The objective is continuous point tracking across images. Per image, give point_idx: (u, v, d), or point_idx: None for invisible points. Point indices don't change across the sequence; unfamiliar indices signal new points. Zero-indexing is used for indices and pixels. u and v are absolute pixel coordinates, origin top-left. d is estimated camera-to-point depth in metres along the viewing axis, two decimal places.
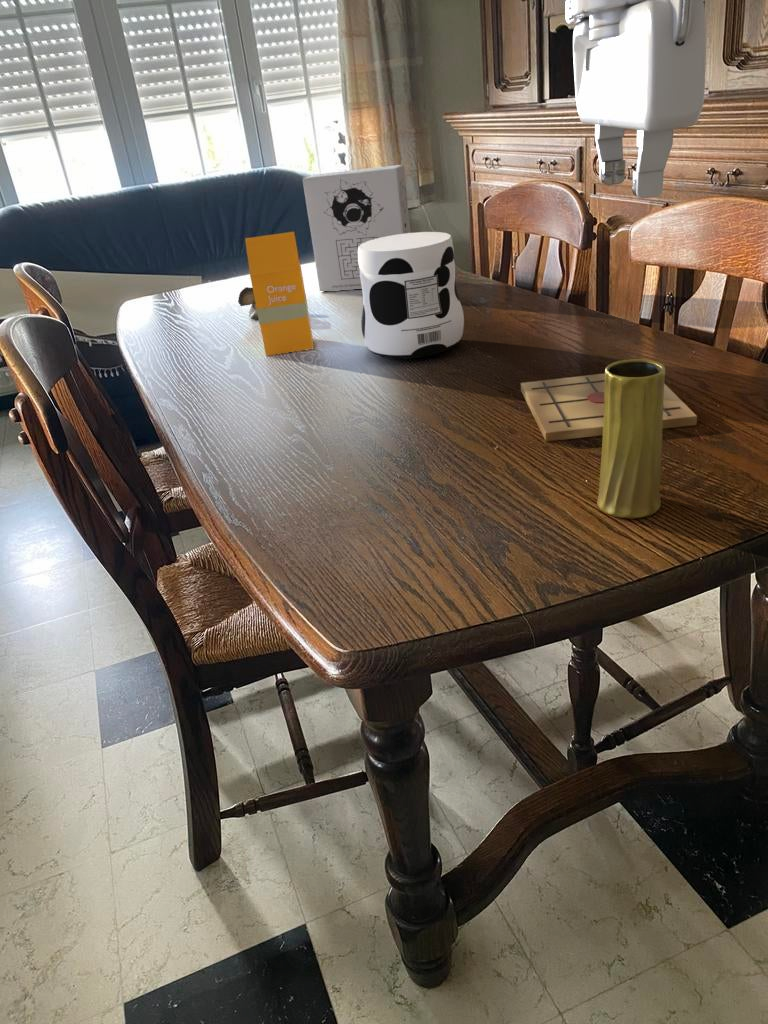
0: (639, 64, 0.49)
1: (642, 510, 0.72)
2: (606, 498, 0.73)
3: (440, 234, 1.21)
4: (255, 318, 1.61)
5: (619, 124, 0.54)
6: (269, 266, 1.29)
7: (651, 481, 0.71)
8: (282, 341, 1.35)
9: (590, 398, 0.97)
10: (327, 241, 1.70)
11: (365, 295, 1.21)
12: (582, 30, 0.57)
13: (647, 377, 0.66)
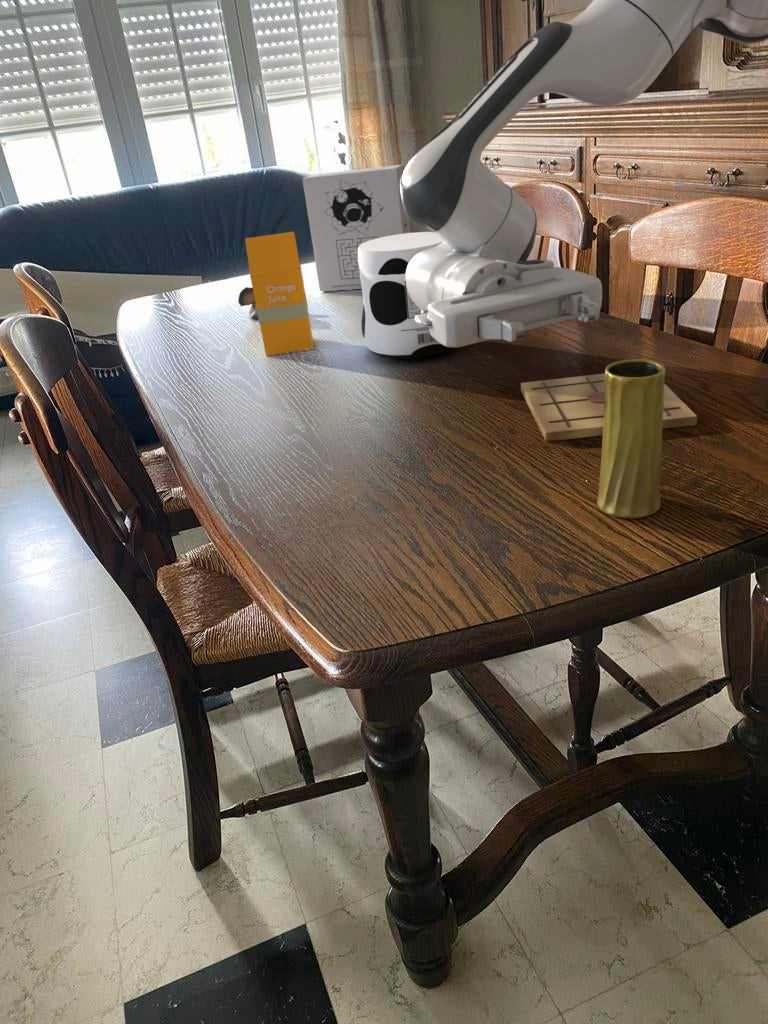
0: None
1: (642, 510, 0.72)
2: (606, 498, 0.73)
3: None
4: (255, 318, 1.61)
5: None
6: (269, 266, 1.29)
7: (651, 481, 0.71)
8: (282, 341, 1.35)
9: (590, 398, 0.97)
10: (327, 241, 1.70)
11: (365, 295, 1.21)
12: None
13: (647, 377, 0.66)
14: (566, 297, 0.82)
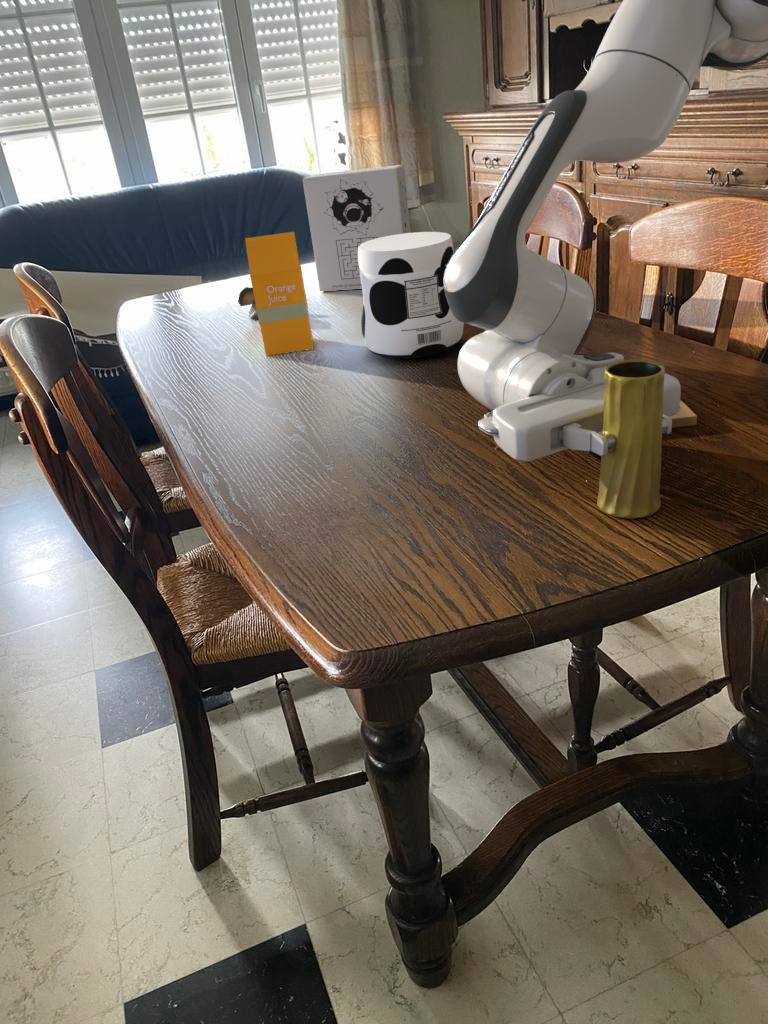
0: None
1: (642, 510, 0.72)
2: (606, 498, 0.73)
3: (440, 234, 1.21)
4: (255, 318, 1.61)
5: None
6: (269, 266, 1.29)
7: (651, 481, 0.71)
8: (282, 341, 1.35)
9: None
10: (327, 241, 1.70)
11: (365, 295, 1.21)
12: None
13: (647, 377, 0.66)
14: None
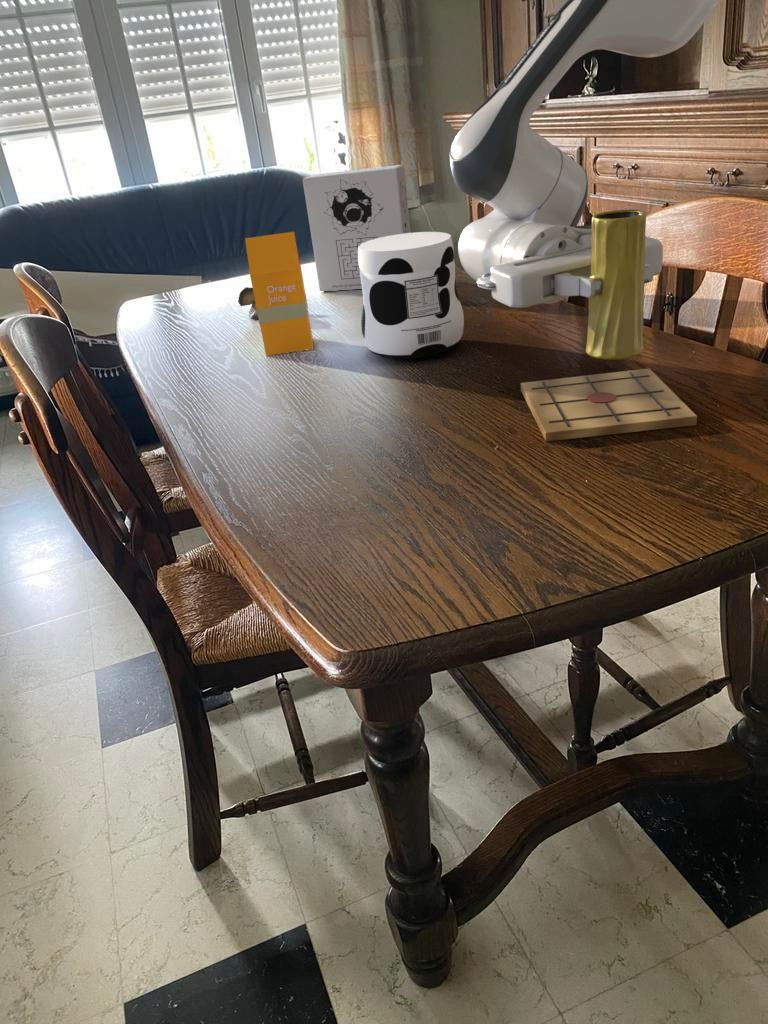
0: None
1: (626, 351, 0.79)
2: (594, 342, 0.80)
3: (440, 234, 1.21)
4: (255, 318, 1.61)
5: None
6: (269, 266, 1.29)
7: (634, 322, 0.78)
8: (282, 341, 1.35)
9: (590, 398, 0.97)
10: (327, 241, 1.70)
11: (365, 295, 1.21)
12: None
13: (629, 218, 0.73)
14: None
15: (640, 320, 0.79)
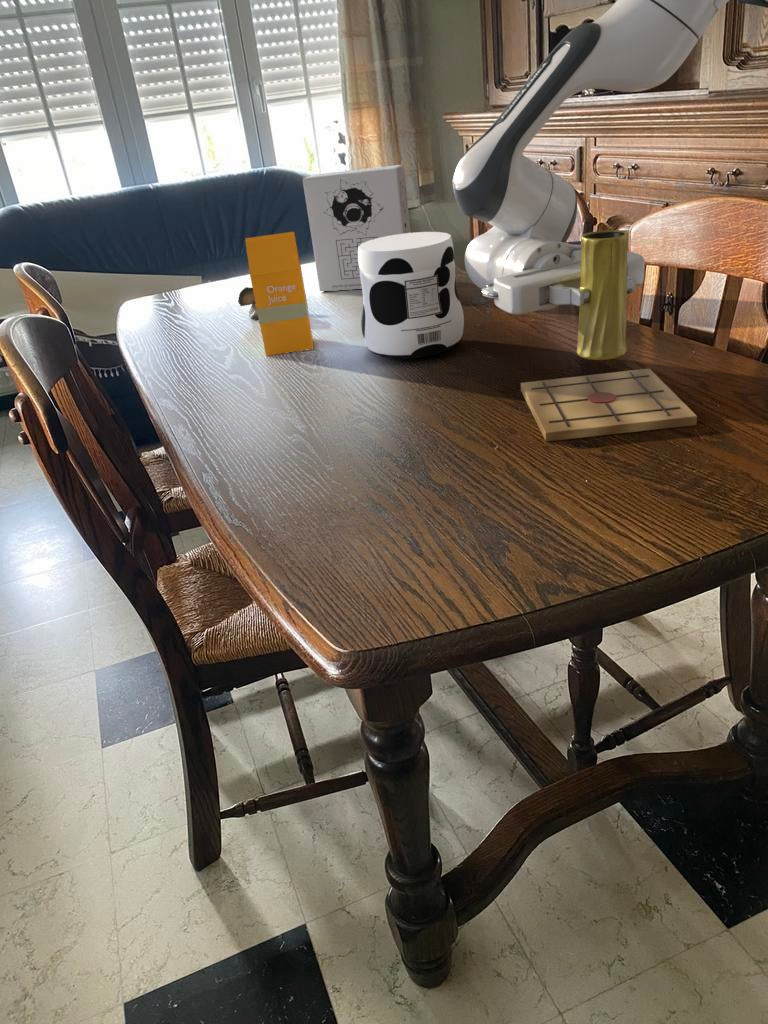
0: None
1: (611, 352, 0.91)
2: (583, 344, 0.92)
3: (440, 234, 1.21)
4: (255, 318, 1.61)
5: (562, 304, 0.94)
6: (269, 266, 1.29)
7: (618, 327, 0.90)
8: (282, 341, 1.35)
9: (590, 398, 0.97)
10: (327, 241, 1.70)
11: (365, 295, 1.21)
12: None
13: (613, 238, 0.85)
14: None
15: (623, 325, 0.91)
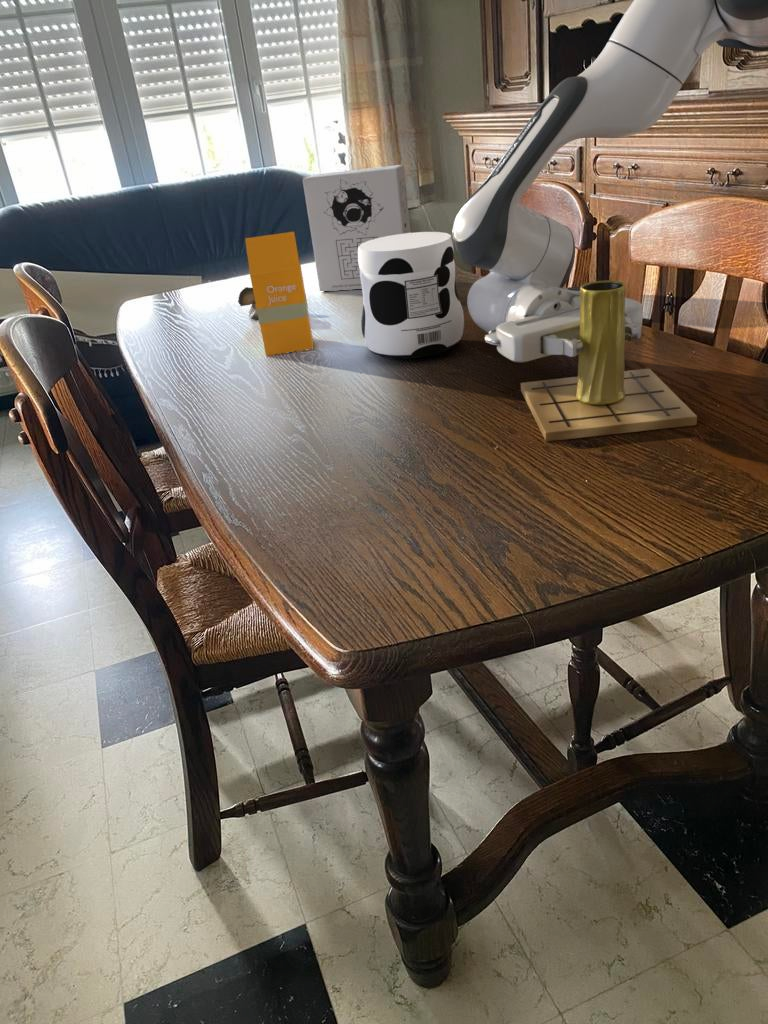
0: None
1: (610, 398, 0.94)
2: (582, 390, 0.95)
3: (440, 234, 1.21)
4: (255, 318, 1.61)
5: None
6: (269, 266, 1.29)
7: (616, 374, 0.93)
8: (282, 341, 1.35)
9: None
10: (327, 241, 1.70)
11: (365, 295, 1.21)
12: None
13: (611, 290, 0.88)
14: None
15: (621, 372, 0.94)
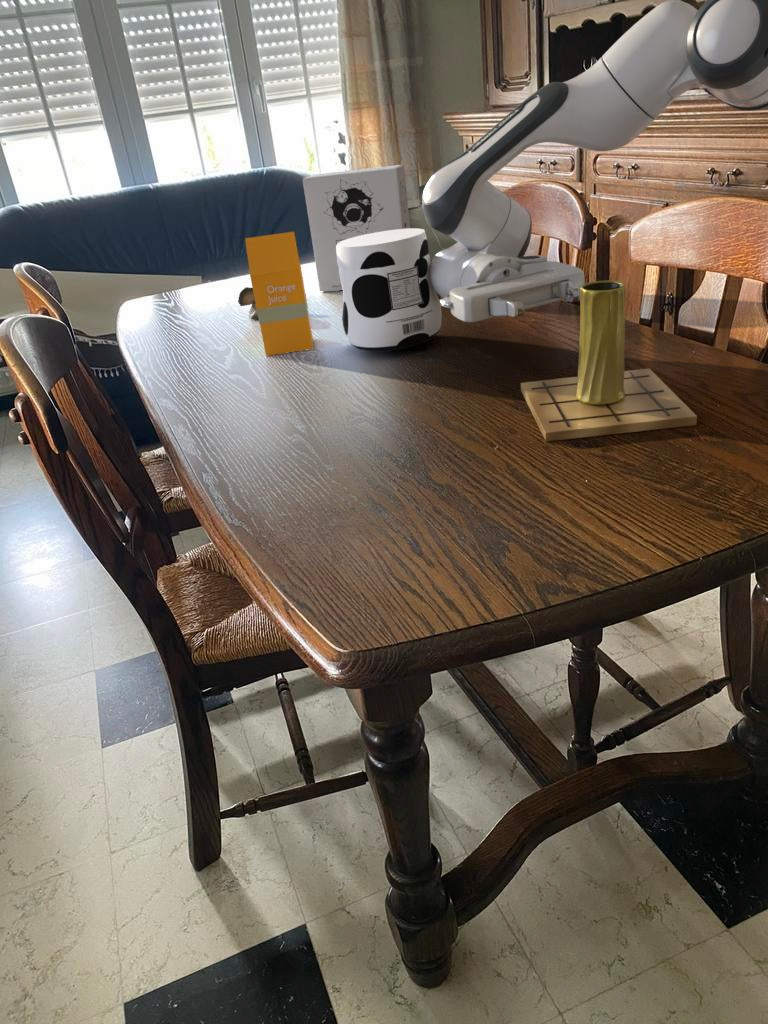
0: None
1: (610, 398, 0.94)
2: (582, 390, 0.95)
3: (413, 229, 1.26)
4: (255, 318, 1.61)
5: None
6: (269, 266, 1.29)
7: (616, 374, 0.93)
8: (282, 341, 1.35)
9: None
10: (327, 241, 1.70)
11: (347, 291, 1.24)
12: None
13: (611, 290, 0.88)
14: (556, 283, 1.07)
15: (621, 372, 0.94)
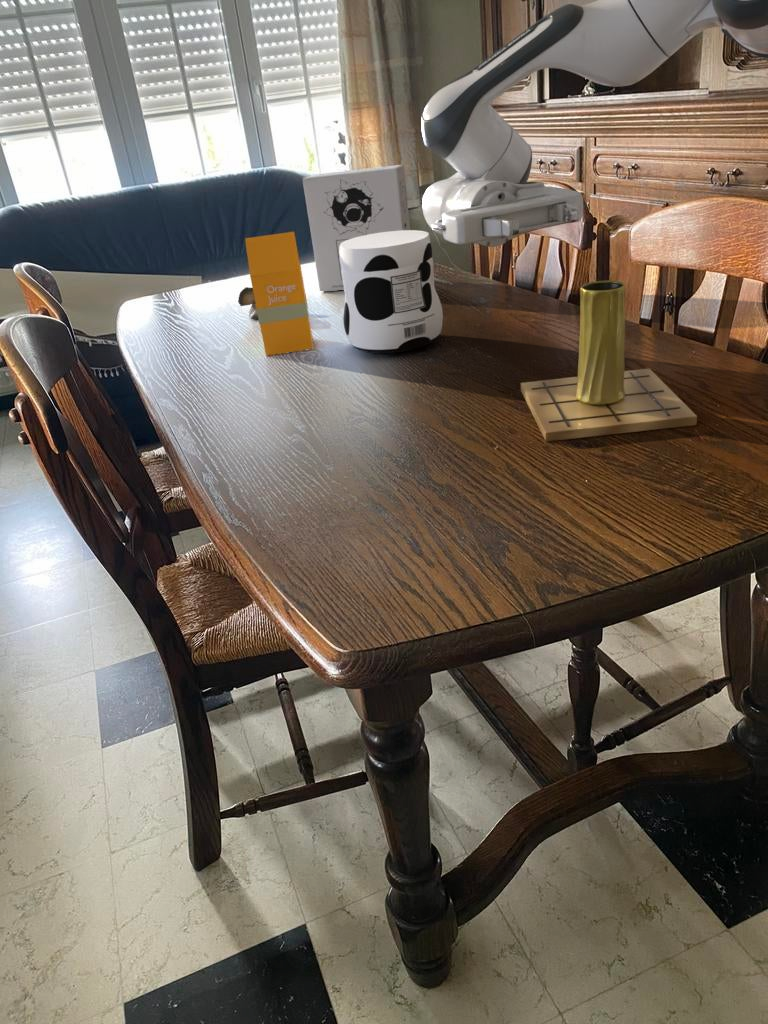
0: None
1: (610, 398, 0.94)
2: (582, 390, 0.95)
3: (417, 232, 1.26)
4: (255, 318, 1.61)
5: (504, 236, 1.01)
6: (269, 266, 1.29)
7: (616, 374, 0.93)
8: (282, 341, 1.35)
9: None
10: (327, 241, 1.70)
11: (349, 292, 1.24)
12: None
13: (611, 290, 0.88)
14: (553, 206, 1.02)
15: (621, 372, 0.94)
